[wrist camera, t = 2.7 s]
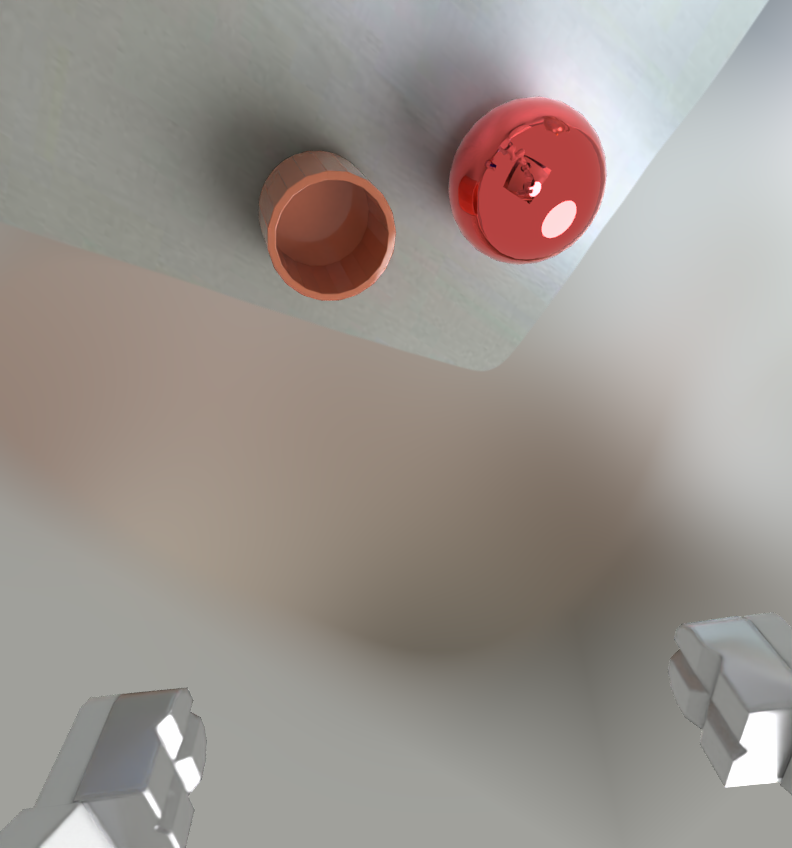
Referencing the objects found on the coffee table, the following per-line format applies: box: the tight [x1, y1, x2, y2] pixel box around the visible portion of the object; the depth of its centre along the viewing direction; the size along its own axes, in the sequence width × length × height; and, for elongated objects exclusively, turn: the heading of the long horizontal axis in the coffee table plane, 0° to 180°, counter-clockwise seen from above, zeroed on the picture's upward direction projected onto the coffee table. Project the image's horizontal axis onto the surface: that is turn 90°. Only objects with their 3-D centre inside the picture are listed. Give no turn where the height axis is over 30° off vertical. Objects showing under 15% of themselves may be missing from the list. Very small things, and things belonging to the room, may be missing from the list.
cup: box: [258, 151, 396, 301], centre depth 43 cm, size 10×10×6 cm
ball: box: [448, 96, 607, 265], centre depth 43 cm, size 12×12×12 cm
